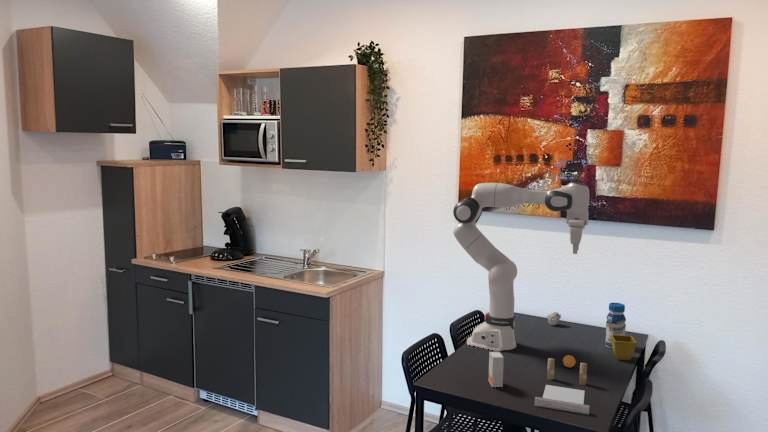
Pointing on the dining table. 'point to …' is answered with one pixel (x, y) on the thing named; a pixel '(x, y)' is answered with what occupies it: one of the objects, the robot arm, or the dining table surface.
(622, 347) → the flower pot
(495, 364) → the skincare box
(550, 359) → the left post
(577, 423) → the dining table surface
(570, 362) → the ball
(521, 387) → the dining table surface
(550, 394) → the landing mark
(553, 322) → the frog figurine
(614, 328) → the beverage bottle
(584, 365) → the right post
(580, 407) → the wall
